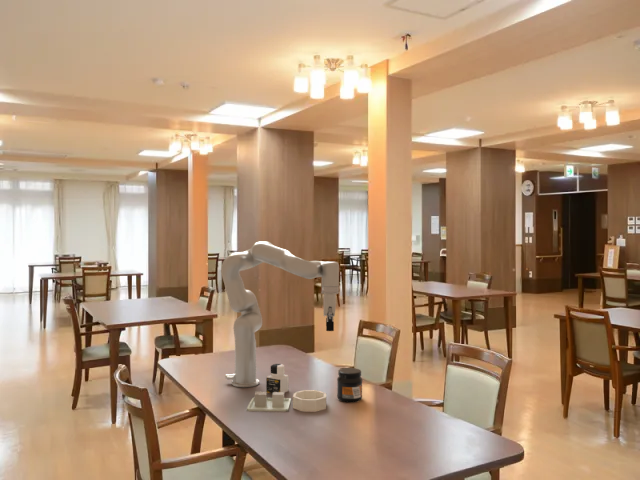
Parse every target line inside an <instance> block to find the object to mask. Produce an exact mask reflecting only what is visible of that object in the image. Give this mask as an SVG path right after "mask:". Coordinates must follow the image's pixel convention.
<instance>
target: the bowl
mask: <svg viewBox="0 0 640 480" xmlns="http://www.w3.org/2000/svg"><path fill="white" fill-rule="evenodd" d="M292 409H295V410H296V411H297V410H298V411H300V412H303V413H304V412H305V413H306V412H311V413H313V412H315V413H316V412H319V411H323V410H326V409H327V393H326V392H323V391H320V390H318V389H317V390H316V389H315V390H313V389H310V390H309V389H302V390H300V391H299V390H298V391H296V392H295V391H294V392H293V395H292Z"/></svg>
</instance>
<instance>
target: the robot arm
mask: <svg viewBox="0 0 640 480" xmlns="http://www.w3.org/2000/svg"><path fill="white" fill-rule="evenodd" d="M263 263H265V264H268V265H271V266H274V267H275V268H279V269H282V270H283V271H286V272H287V273H290V274H293V275H295V276H298V277H301V278H304V279H306V280H307V279H308V280H312V279H315V278H321V294H322V295H323V317H324V318H325V317H326V318H325V326H326V327H325V328H326V329H325V330H326V331H327V332H334V331H335V329H334V328H335V326H334V325H335V323H334V317H335V316H336V306H337V295H338V294H340V290H339V288H340V287H339V286H340V284H339V283H340V265H339V262H338V261H322V260H320V261H319V260H310V261H309V260H306V259H303V258H300V257H298V256H295V255H294V254H292V253H291V252H290V251H289V250H287V249H285V248H281V247H278V246H276V245H274V244H273V243H272V242H270V241H256V242H255V243H254V244H253V245H252V246H251V248H249V249H246V250H245V251H238V252H234V253H233V252H232V253H231V254H229V255H228V256H227V257H225V259H223V261H222V263H221V264H222V265H221V268H220V269H221V270H220V271H221V278H222V280H223V283H224V287H225V291H226V295H227V298H228V303H229V306H230V309H231V310H232V311H233V312H234V313H241V314H240V316H238V317H237V318H236V319H235V320H234V323H233V328H232V329H233V335H234V373H232V374H231V373H230V374H228V373H226V374H225V379H226V380H232V381H231V385H232V386H234V387H235V388H236V387H237V388H252V387H255V386H256V387H257V386H258V385H259V384H260V380H259V379H258V378H257V340H256V334H255V333H256V332H257V331H259V330H260V329H261V328H262V326H263V316H262V313H261V309H260V306H259V302H258V299H257V297H256V294H255V293H254V292H253V291H252V290H250V289H246V286H245V283H244V280H243V278H242V276H241V271H246V270H249V269H252V268H254V267H256V266H258V265H260V264H263Z"/></svg>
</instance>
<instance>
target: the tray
mask: <svg viewBox="0 0 640 480" xmlns="http://www.w3.org/2000/svg"><path fill="white" fill-rule="evenodd" d="M291 403H292V397H284V407H272V397H267V405H266V407H255V397H252V398H251V400H250V401H249V403H248V405H247V407H246V412H281V413H282V412H284V413H285V412H289V409H290V405H291Z"/></svg>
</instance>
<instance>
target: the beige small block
mask: <svg viewBox="0 0 640 480" xmlns="http://www.w3.org/2000/svg"><path fill="white" fill-rule="evenodd" d="M254 398H255V407H266V405H267V398H268V393H267V392H266V391H255V393H254Z"/></svg>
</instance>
